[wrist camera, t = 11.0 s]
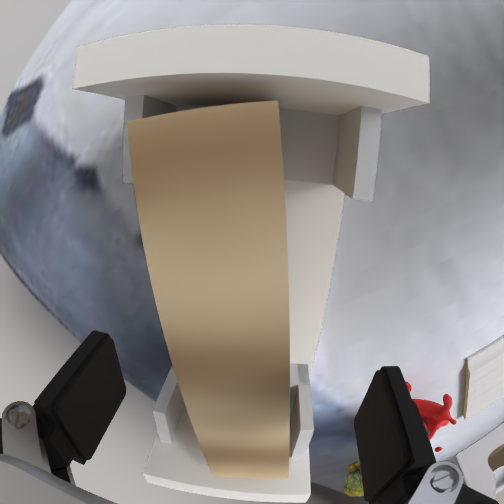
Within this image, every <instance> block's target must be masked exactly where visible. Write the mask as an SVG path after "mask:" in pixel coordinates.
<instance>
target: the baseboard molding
mask: <svg viewBox="0 0 504 504" xmlns="http://www.w3.org/2000/svg"><path fill="white" fill-rule="evenodd" d="M503 397H504V335H503V336H501V337H500V338H498V339H496V340H495V341H493V342H492V343H490V344H489V345H487V346H485V347H484V348H482V349H480V350H479V351H477V352H475V353H474V354H472V355H470V356H468V357H467V364H466V385H465V399H464V409H463V417H464V419H465V420H467V419H468V418H470V417H472V416H474V415H476V414H477V413H479V412H481V411H482V410H484V409H486V408H487V407H489V406H491V405H492V404H494V403H495V402H497V401H498V400H500V399H501V398H503Z"/></svg>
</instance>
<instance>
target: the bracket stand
mask: <svg viewBox="0 0 504 504" xmlns="http://www.w3.org/2000/svg"><path fill="white" fill-rule="evenodd" d="M73 89H75V90H81V91H86V92H92V93H97V94H102V95H106V96H111V97H116V98H120V99H124V100H125V114H124V134H123V184H133V176H132V168H131V159H130V150H129V140H128V128H127V122H129V121H133V120H137V119H142V118H147V117H152V116H156V115H162V114H167V113H172V112H178V111H184V110H190V109H197V108H204V107H211V106H219V105H228V104H237V103H248V102H261V101H277V100H278V105H279V117H280V130H281V143H282V158H283V173H284V190H285V209H286V229H287V253H288V282H289V323H290V439H289V476H288V479H251V478H231V477H218V476H212V474H211V471H210V469H209V467H208V464H207V462H206V459H205V457H204V454H203V452H202V449H201V447H200V444H199V442H198V439H197V436H196V434H195V431H194V428H193V426H192V423H191V420H190V417H189V414H188V412H187V409H186V406H185V403H184V400H183V397H182V394H181V391H180V388H179V385H178V381H177V378H176V375H175V372H174V369H173V365H172V367H171V369H170V371H169V374H168V376H167V378H166V380H165V383H164V385H163V387H162V390H161V392H160V394H159V396H158V399H157V401H156V403H155V406H154V408H153V411H152V412H153V415H154V419H155V423H156V427H157V430H158V433H157V436H156V439H155V441H154V444H153V446H152V449H151V452H150V454H149V457H148V460H147V462H146V465H145V468H144V470H143V475H144V477H145V479H146V481H147V482H148V483H152V484H156V485H160V486H164V487H168V488H173V489H177V490H182V491H186V492H191V493H196V494H202V495H208V496H215V497H223V498H230V499H238V500H249V501H263V502H290V503H291V502H293V503H298V502H299V503H300V502H306V501H307V500H308V498H309V497H310V495H311V488H310V465H309V446H308V445H309V443H310V440H311V437H312V435H313V432H314V421H313V410H312V399H311V389H310V375H311V371H312V367H313V363H314V359H315V355H316V351H317V347H318V343H319V338H320V334H321V329H322V325H323V320H324V315H325V311H326V306H327V301H328V296H329V291H330V285H331V280H332V275H333V269H334V263H335V257H336V251H337V245H338V239H339V233H340V226H341V219H342V212H343V205H344V197H345V194H346V195H348V196H349V197H350V198H352V199H355V200H363V201H370V202H373V196H374V189H375V181H376V173H377V164H378V155H379V145H380V133H381V120H382V114H386V113H390V112H394V111H398V110H402V109H406V108H410V107H415V106H419V105H424V104H429V97H430V67H429V56H427V55H424V54H421V53H418V52H415V51H412V50H409V49H405V48H402V47H399V46H395V45H391V44H388V43H384V42H380V41H376V40H372V39H367V38H363V37H358V36H353V35H348V34H343V33H337V32H331V31H325V30H317V29H310V28H301V27H291V26H279V25H260V24H214V25H196V26H184V27H174V28H165V29H157V30H150V31H144V32H138V33H132V34H127V35H122V36H117V37H112V38H108V39H104V40H100V41H96V42H92V43H88V44H84V45H81V46H78V51H77V57H76V64H75V72H74V80H73Z"/></svg>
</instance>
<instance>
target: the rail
mask: <svg viewBox="0 0 504 504" xmlns="http://www.w3.org/2000/svg"><path fill="white" fill-rule="evenodd" d="M127 128H128V140H129V150H130V159H131V168H132V176H133V184H134V191H135V198H136V205H137V211H138V218H139V224H140V229H141V235H142V241H143V246H144V251H145V256H146V261H147V266H148V271H149V276H150V280H151V285H152V289H153V293H154V298H155V302H156V306H157V310H158V314H159V318H160V322H161V326H162V330H163V334H164V337H165V341H166V344H167V348H168V352H169V355H170V358H171V362H172V365H173V369H174V372H175V375H176V378H177V381H178V385H179V388H180V391H181V394H182V397H183V400H184V403H185V406H186V409H187V412H188V414H189V417H190V420H191V423H192V426H193V428H194V431H195V434H196V436H197V439H198V442H199V444H200V447H201V449H202V452H203V454H204V457H205V459H206V462H207V464H208V467H209V469H210V471H211V474H212V476H218V477H231V478H251V479H288V476H289V439H290V323H289V282H288V253H287V229H286V209H285V190H284V173H283V158H282V143H281V130H280V117H279V105H278V100H277V101H261V102H248V103H237V104H228V105H219V106H211V107H204V108H197V109H190V110H184V111H178V112H172V113H167V114H162V115H156V116H152V117H147V118H142V119H137V120H133V121H129V122H127Z"/></svg>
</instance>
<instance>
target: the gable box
mask: <svg viewBox="0 0 504 504" xmlns="http://www.w3.org/2000/svg"><path fill="white" fill-rule="evenodd" d="M456 458H457V460H458V463H459V466H460V468H461V471H462V473H463V476H464V479H465V482H466V485H467V486H468V487H470V488H472V489H474V490H476V491H478V492H480V493H482V494H484V495H486V496H488V497H490V498H492V499H494V500H495V493H496V478H495V475H494V473H493V471H494V470H496V469H497V468H499V467H501V466H503V465H504V422H503V423H502V424H501V425H499V426H498V427H497V428H495V429H494V430H493V431H491V432H490V433H488V434H487V435H486V436H484V437H483V438H481V439H480V440H478V441H477V442H475V443H474V444H472V445H471V446H469V447H468V448H466V449H464V450H463V451H461V452H460V453H458V454H456Z"/></svg>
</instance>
